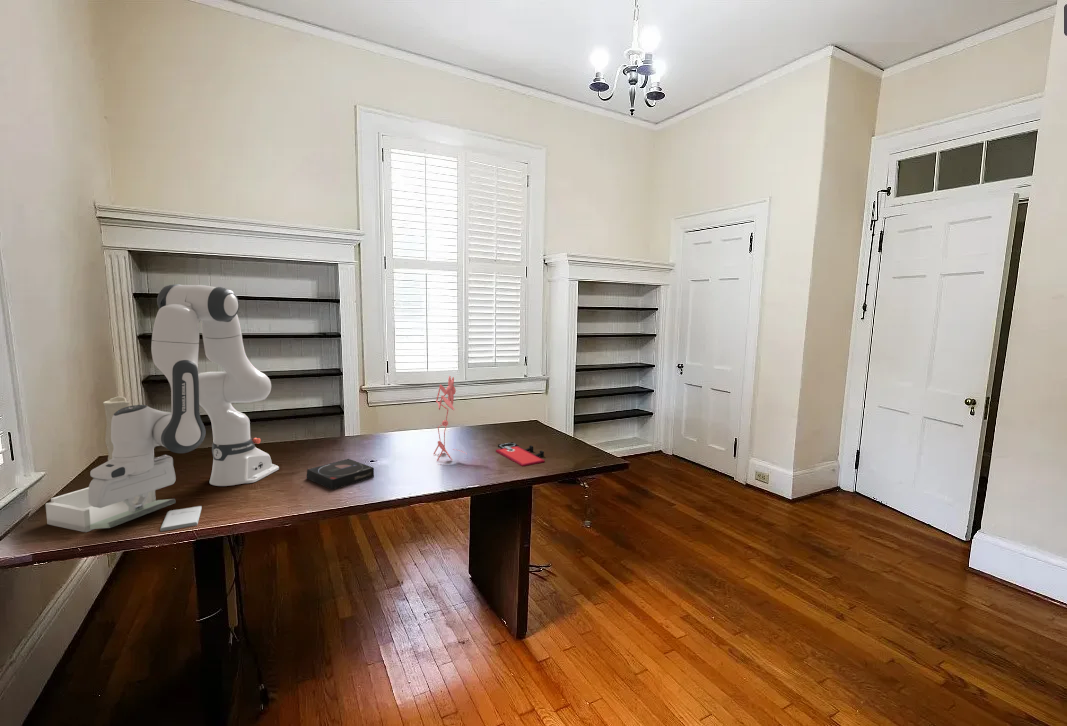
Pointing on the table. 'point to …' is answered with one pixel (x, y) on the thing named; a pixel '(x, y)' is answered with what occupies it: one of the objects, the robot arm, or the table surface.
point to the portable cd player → (340, 473)
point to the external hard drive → (181, 518)
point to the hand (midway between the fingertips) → (136, 510)
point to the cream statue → (110, 409)
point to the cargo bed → (83, 510)
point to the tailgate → (131, 514)
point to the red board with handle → (520, 454)
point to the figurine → (450, 392)
